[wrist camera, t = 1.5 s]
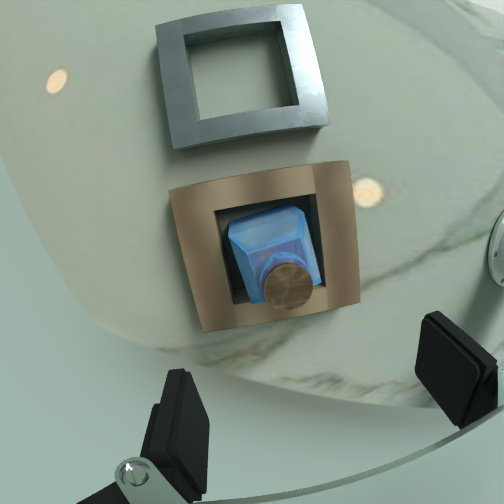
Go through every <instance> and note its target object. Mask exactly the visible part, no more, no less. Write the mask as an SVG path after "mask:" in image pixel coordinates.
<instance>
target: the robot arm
mask: <svg viewBox="0 0 504 504" xmlns="http://www.w3.org/2000/svg"><path fill="white" fill-rule="evenodd" d="M488 265H489V271H490V275H491V277H492V279H493V280H494V281H495V282H496V283H497V284H499V285H500V286H504V212H503V213H502V214H501V216H500V217H499V219H498V221H497V223H496V225H495V227H494V230H493V233H492V236H491V240H490V245H489V253H488ZM496 363H497V360H496V359H495V358H494V357H493V356H492V355H491V354H489V353H488V352H487V351H486V350H485V349H484V348H483V347H481V346H480V345H479V344H478V343H477V342H476V341H475V340H473V339H472V338H471V337H470V336H469V335H467V334H466V333H465V332H464V331H463V330H462V329H460V328H459V327H458V326H457V325H456V324H454V323H453V322H452V321H451V320H449V319H448V318H447V317H446V316H445V315H443V314H442V313H441V312H440V311H435V312H432V313H429V314H426V315H425V317H424V319H423V320H422V323H421V331H420V339H419V346H418V353H417V359H416V365H415V374H416V376H417V377H418V379H419V380H420V381H421V382H422V384H423V385H424V386H425V388H426V389H427V390H428V391H429V393H430V394H431V395H432V397H433V398H434V399H435V401H436V402H437V403H438V405H439V406H440V407H441V409H442V410H443V411H444V412H445V414H446V415H447V417H448V418H449V419H450V421H451V422H452V423H453V424H454V425H455V426H458V427H459V428H460V431H458V432H456V433H454V434H452V435H450V436H448V437H447V438H444V439H443V440H441V441H439V442H437V443H435V444H432V445H430V446H428V447H426V448H424V449H422V450H420V451H417V452H415V453H413V454H411V455H408V456H406V457H403V458H401V459H399V460H396V461H394V462H391V463H388V464H386V465H383V466H380V467H378V468H375V469H372V470H369V471H366V472H363V473H360V474H357V475H353V476H350V477H347V478H343V479H340V480H336V481H332V482H329V483H325V484H321V485H317V486H313V487H308V488H303V489H299V490H293V491H288V492H282V493H276V494H270V495H263V496H256V497H249V498H240V499H230V500H229V499H228V500H218V501H208V502H197V503H193V501H201V500H202V494H205V493H206V490H207V467H208V445H209V418H208V416H207V413H206V411H205V408H204V406H203V403H202V401H201V398H200V396H199V393H198V391H197V388H196V386H195V383H194V381H193V378H192V375H191V373H190V372H186V371H185V370H184V369H183V368H182V369H173V370H169V371H168V374H167V378H166V382H165V385H164V389H163V393H162V397H161V401H160V403H159V404H154V406H153V408H152V411H151V415H150V419H149V423H148V426H147V430H146V434H145V438H144V441H143V446H142V450H141V454H140V457H132V458H129V459H127V460H125V461H123V462H122V463H120V465H119V466H118V467H117V469H116V471H115V480H116V481H115V482H114V483H112V484H110V485H109V486H107V487H105V488H103V489H102V490H100V491H98V492H97V493H95V494H93V495H91V496H89V497H87V498H86V499H84V500H82V501H80V502H78V503H77V504H504V361H503V362H502V363H501V364H500V365H499V367H498V366H497V365H496Z"/></svg>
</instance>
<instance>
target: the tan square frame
mask: <svg viewBox="0 0 504 504" xmlns="http://www.w3.org/2000/svg"><path fill="white" fill-rule="evenodd" d="M168 192H169V197H170V201H171V206H172V211H173V215H174V220H175V224H176V229H177V233H178V237H179V242H180V246H181V250H182V254H183V258H184V262H185V266H186V270H187V274H188V278H189V282H190V286H191V290H192V293H193V297H194V301H195V304H196V308H197V312H198V315H199V319H200V322H201V326H202V329H203V333H205V332H212V331H218V330H225V329H231V328H237V327H243V326H249V325H255V324H261V323H266V322H272V321H277V320H282V319H287V318H293V317H298V316H303V315H307V314H312V313H317V312H322V311H326V310H331V309H335V308H340V307H344V306H348V305H352V304H357V303H360V276H359V257H358V241H357V229H356V217H355V207H354V198H353V189H352V181H351V173H350V166H349V161H331V162H323V163H315V164H307V165H300V166H293V167H286V168H279V169H273V170H267V171H261V172H255V173H249V174H243V175H238V176H232V177H227V178H222V179H216V180H211V181H206V182H201V183H197V184H192V185H187V186H183V187H178V188H175V189H172V190H169V191H168ZM301 195H308V203H309V210H310V217H311V225H312V233H313V241H314V250H315V257H316V261H317V265H318V269H319V274H320V278H321V283H319V284H317V285H315V286H313V292H312V295H311V297H310V299H309V300H308V302H306V303H305V304H304V305H303V306H302V307H300V308H298V309H296V310H291V311H282V310H278V309H276V308H274V307H273V306H271V305H270V304H269V303H268V301H265V302H261V303H256V304H251V301H250V298H249V295H248V292H247V289H246V288H244V289H238V290H233V286H232V281H231V277H230V272H229V267H228V262H227V258H226V253H225V248H224V243H223V238H222V233H221V228H220V223H219V218H218V213H217V210H220V209H226V208H231V207H236V206H242V205H247V204H253V203H259V202H264V201H270V200H276V199H282V198H288V197H294V196H301Z"/></svg>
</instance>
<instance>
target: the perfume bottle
mask: <svg viewBox="0 0 504 504" xmlns="http://www.w3.org/2000/svg"><path fill="white" fill-rule="evenodd" d="M228 237H229V240H230V243H231V246H232V249H233V252H234V255H235V258H236V261H237V263H238V266H239V269H240V272H241V275H242V278H243V281H244V284H245V286H246V289H247V292H248V295H249V298H250V301H251V304H256V303H261V302H265V301H268V303H269V304H270V305H271V306H273V307H274V308H276V309H278V310H282V311H291V310H296V309H298V308H300V307H302V306H303V305H304V304H305V303H306V302H308V300H309V299H310V297H311V295H312V292H313V286H315V285H317V284H319V283H321V278H320V274H319V269H318V265H317V261H316V257H315V253H314V249H313V245H312V241H311V238H310V234H309V230H308V226H307V223H306V219H305V215H304V212H302V211H301V210H300V209H298V208H297V207H295V206H294V205H292V204H291V203H289V204H285V205H282V206H279V207H275V208H272V209H269V210H266V211H262V212H259V213H256V214H253V215H250V216H247V217H243V218H240V219H237V220H234V221H231V222H230V225H229V233H228Z"/></svg>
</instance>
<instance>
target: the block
mask: <svg viewBox="0 0 504 504" xmlns="http://www.w3.org/2000/svg"><path fill="white" fill-rule="evenodd" d="M155 28H156V37H157V46H158V54H159V62H160V70H161V77H162V84H163V91H164V98H165V104H166V111H167V117H168V123H169V129H170V135H171V141H172V146H173V149H174V150H178V151H182V150H186V149H190V148H195V147H200V146H204V145H209V144H214V143H219V142H225V141H230V140H236V139H241V138H247V137H253V136H260V135H266V134H273V133H281V132H288V131H296V130H305V129H314V128H322V127H324V126H327V125H329V124H330V119H329V114H328V108H327V103H326V98H325V94H324V89H323V84H322V80H321V75H320V71H319V67H318V62H317V58H316V54H315V50H314V46H313V42H312V39H311V35H310V31H309V28H308V24H307V21H306V17H305V14H304V10H303V7H302V4H291V5H270V6H258V7H248V8H239V9H231V10H225V11H218V12H212V13H207V14H202V15H197V16H192V17H187V18H183V19H178V20H174V21H170V22H167V23H163V24H159V25H156V26H155ZM271 33H277V37H278V42H279V46H280V50H281V54H282V59H283V63H284V68H285V72H286V77H287V82H288V87H289V91H290V96H291V101H292V106H287V107H278V108H270V109H263V110H256V111H249V112H243V113H237V114H231V115H226V116H220V117H215V118H210V119H205V120H200V116H199V110H198V105H197V99H196V93H195V87H194V81H193V75H192V68H191V62H190V56H189V49H188V46H192V45H196V44H201V43H206V42H211V41H217V40H223V39H229V38H236V37H243V36H251V35H260V34H271Z"/></svg>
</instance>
